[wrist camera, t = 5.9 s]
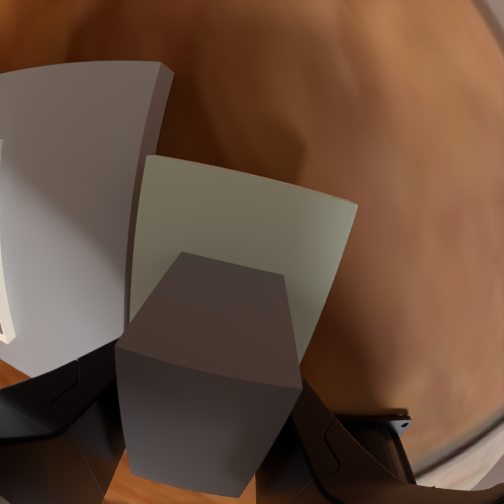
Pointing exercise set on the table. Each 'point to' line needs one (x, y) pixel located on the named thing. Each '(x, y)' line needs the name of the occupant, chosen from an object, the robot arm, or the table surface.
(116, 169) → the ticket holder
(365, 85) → the table surface
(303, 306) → the gray block on plate
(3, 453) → the robot arm
